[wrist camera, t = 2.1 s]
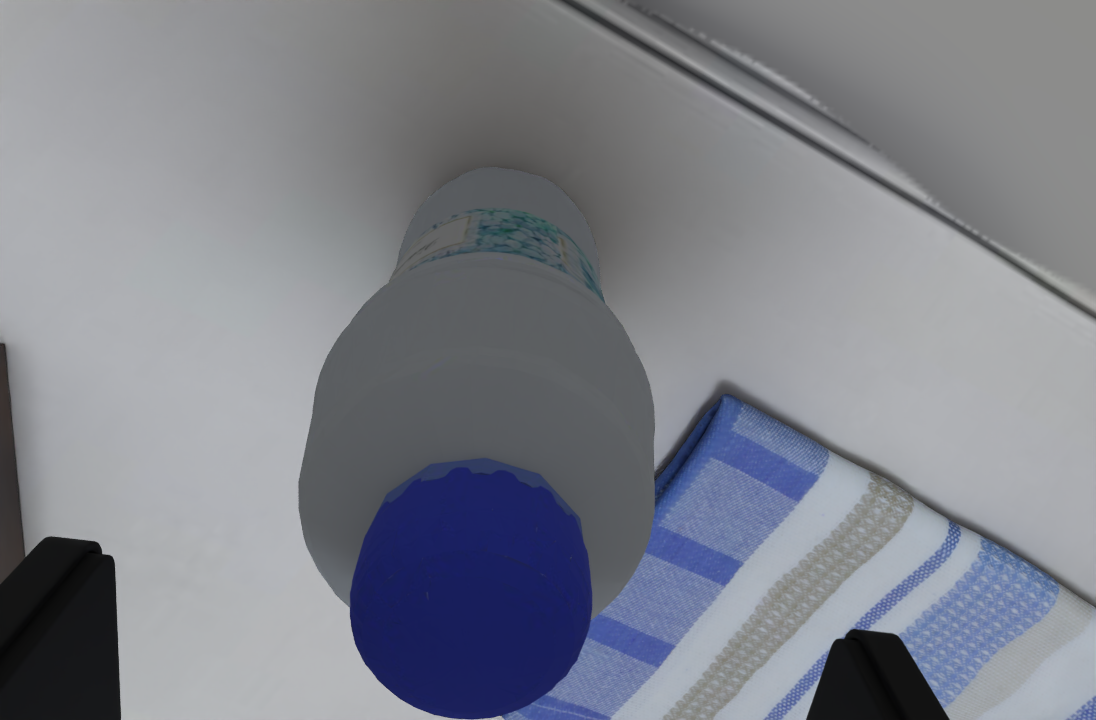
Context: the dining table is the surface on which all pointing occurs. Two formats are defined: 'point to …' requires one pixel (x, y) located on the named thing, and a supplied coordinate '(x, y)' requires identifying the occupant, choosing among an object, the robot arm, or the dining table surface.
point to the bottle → (481, 452)
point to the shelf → (8, 485)
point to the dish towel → (816, 595)
